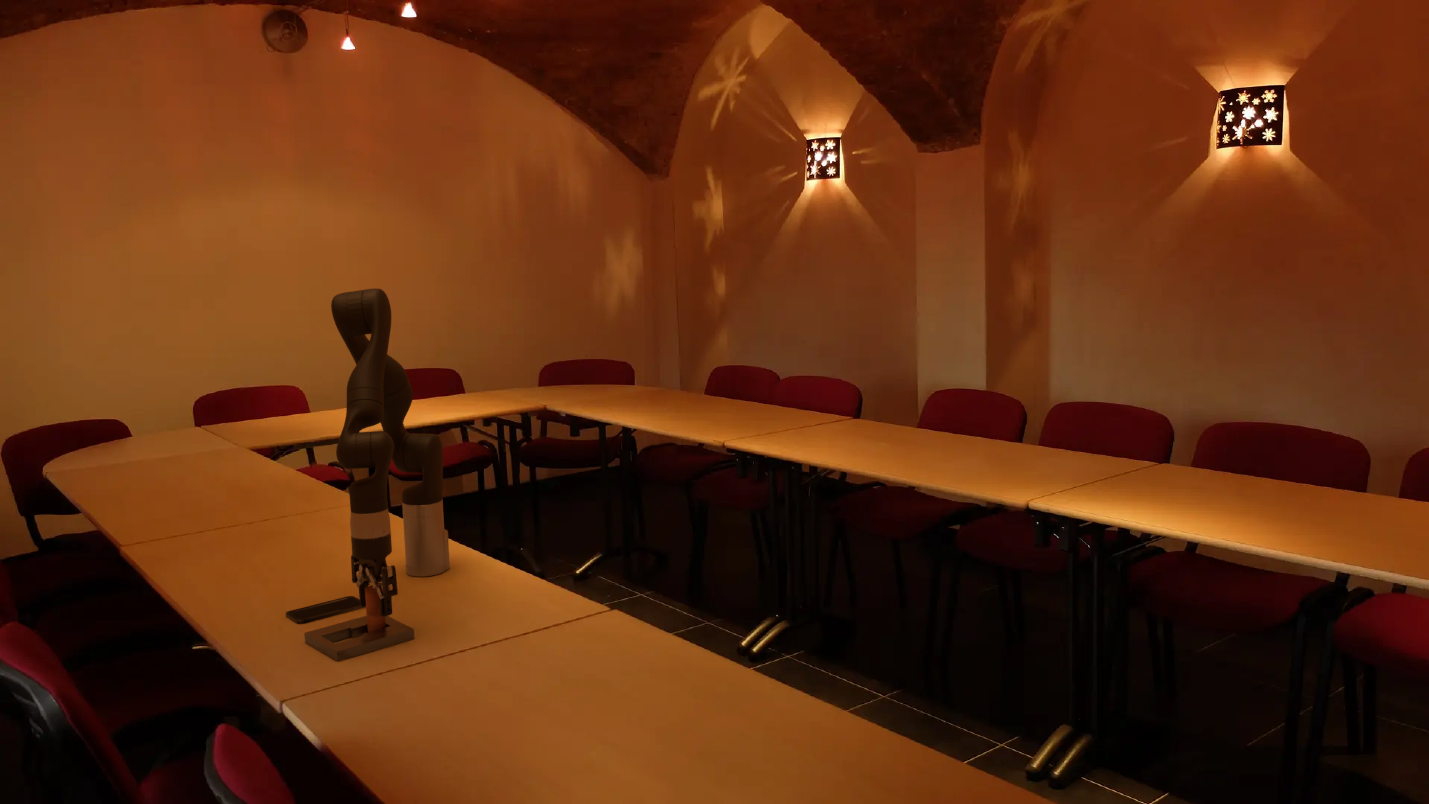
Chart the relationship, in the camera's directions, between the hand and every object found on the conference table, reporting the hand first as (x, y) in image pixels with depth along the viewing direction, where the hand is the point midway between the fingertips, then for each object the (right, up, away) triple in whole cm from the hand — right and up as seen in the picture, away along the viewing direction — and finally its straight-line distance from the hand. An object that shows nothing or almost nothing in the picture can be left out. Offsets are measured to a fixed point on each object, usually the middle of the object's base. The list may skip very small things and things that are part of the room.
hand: (376, 610), depth 213 cm
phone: (-15, -4, +15) cm, 22 cm away
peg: (0, -5, +1) cm, 5 cm away
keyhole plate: (-3, -6, -2) cm, 6 cm away
